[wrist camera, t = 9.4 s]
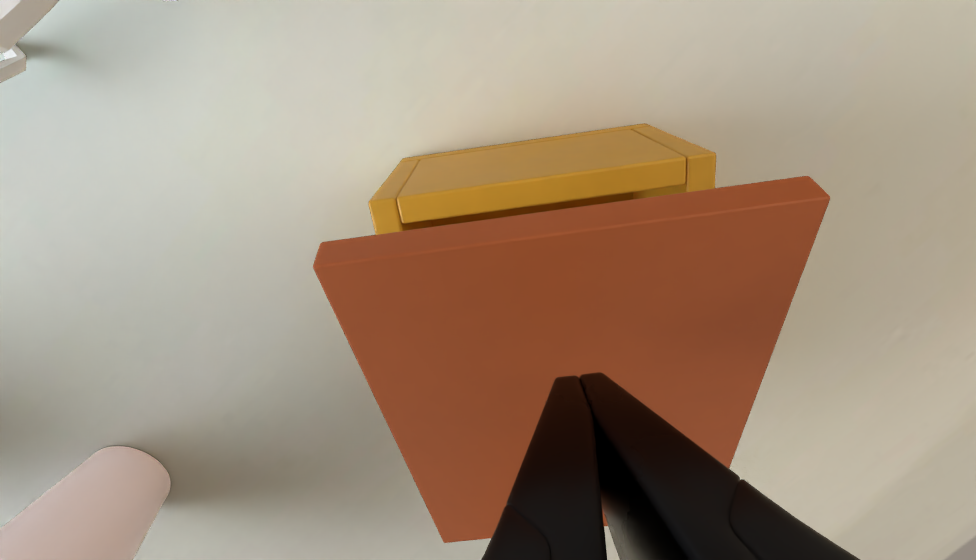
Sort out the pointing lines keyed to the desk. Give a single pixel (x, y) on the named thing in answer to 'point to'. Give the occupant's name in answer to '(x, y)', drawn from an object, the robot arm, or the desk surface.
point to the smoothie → (91, 510)
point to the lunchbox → (539, 177)
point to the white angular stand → (19, 31)
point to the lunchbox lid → (567, 324)
